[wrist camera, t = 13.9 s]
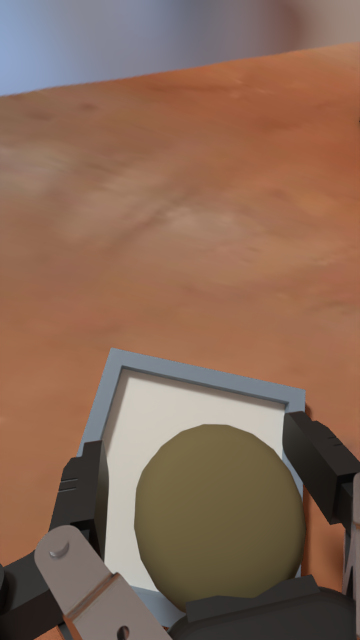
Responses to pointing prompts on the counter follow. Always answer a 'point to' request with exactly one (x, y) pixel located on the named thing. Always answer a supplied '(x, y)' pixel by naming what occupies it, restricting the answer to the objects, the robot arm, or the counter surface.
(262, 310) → the counter surface
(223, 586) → the olive tapered round piece
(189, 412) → the blank framed board
